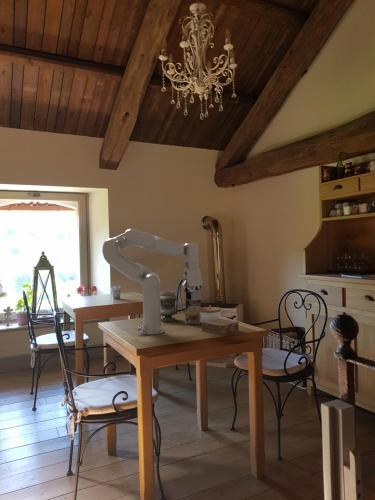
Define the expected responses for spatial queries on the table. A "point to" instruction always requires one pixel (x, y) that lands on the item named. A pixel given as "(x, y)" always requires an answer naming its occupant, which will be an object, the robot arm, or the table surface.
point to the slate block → (194, 295)
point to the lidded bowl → (210, 313)
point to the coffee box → (192, 312)
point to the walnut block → (220, 326)
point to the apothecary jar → (168, 305)
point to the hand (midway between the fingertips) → (193, 298)
